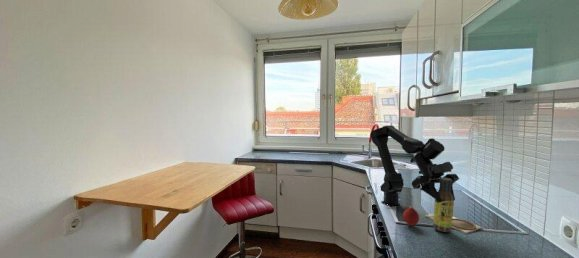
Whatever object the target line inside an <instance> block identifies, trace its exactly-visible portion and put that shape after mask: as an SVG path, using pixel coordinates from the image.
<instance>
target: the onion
mask: <svg viewBox="0 0 579 258" xmlns="http://www.w3.org/2000/svg"><path fill="white" fill-rule="evenodd" d="M402 218H403V221H404V222H405V223H406V224H407V225H408V226H409V227H413V226H415V225H416V224H418V223H419V221H420V215H419V213H418V211H417V210H416V209H414V207H412V206H408V208H407V209H405V210H404V211H403V213H402Z"/></svg>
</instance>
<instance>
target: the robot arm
mask: <svg viewBox="0 0 579 258" xmlns="http://www.w3.org/2000/svg"><path fill="white" fill-rule="evenodd" d="M369 136H370V139H371V141H372V144H374V145H375V146H376V147H377V150H378V153H379V158H380V161H381V163H382V167H383V171H384V177H383V183H382V184H381V185H380V191H381V192H383V200H381V201H380V202H381V203H382V202H383V203H382V204H384V203H385V204H384V205H386V204H388V205H390V206H389V207H395V206H394V205H396V206H399V205H401V203H399V198H400V197H399V193H402V191H403V188H404V181H405V180H404V178H403V176H402V173H401V172H398V171H396V168H395V165H394V162H393V158H392V155H391V152H390V149H389V147H388V141H389V137H390V138H392V139H393V140H394V141H396V142H397V143H398V144H400V145H401V149H403V151H404V152H405V154H408V155H412V156H411V158H410V163H411V164H412V163H415V164H416V166H417V168H418V174H419V175H418V176H416V177H415V178H414V179H413V180H412V181H411V186H412V188H413V189H414V190H420V191H423V192H424V193H425V194H427V195H428V196H430V197H432V199H434V200H435V199H436V200H437V201H438V202H441V201H442V200H441V198H440V196H439V194H438V190H437V189H436V187H435V186H436V185H435V184H440V178H441V177H445V178H450V179H452V184H451V193H452V195H453V197H454V201H455V200H456V197H455V192H454V188H453V185H454V183H456V182H457V181H458V180H460V177H459V176H458V175H457V173H452V170H453V169H454V166H453V164H452V163H451V162H450V161H445V162H443V163H439V164H438V163H433V161H432V160H435V159H436V158H437V157H438V156H440V155H441V154H442V153H444V151H445V149H446V148H445V146H444V145H443V143H441V142H440V141H438V140H436V139H435V138H429V139H428V140H427V141H426V142H425V143H424V142H423V141H422V140H419V139H417V138H412V137H409V136H408V135H407V134H405V133H404V132H402V131H400V130H399V129H397V128H396V127H395V126H394V125H384V126H382V127H378V128H376V129H372V130H371V131H370V135H369ZM413 155H414V156H413ZM445 173H446V174H445ZM388 205H387V206H388Z"/></svg>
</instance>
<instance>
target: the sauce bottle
mask: <svg viewBox="0 0 579 258" xmlns="http://www.w3.org/2000/svg"><path fill="white" fill-rule="evenodd" d="M451 184H452V179H450V178H445V177H444V176H441V178H440V183H439V187H438V190H437V192H438V194H439V196H440V198H441V200H442V201H441V202H438V201H437V200H436V199H434V204H433V214H434V217H433V220H432V222H433V224H432V227H433V228H434V229H435V230H436V231H440V232H444V233H449V232H452V228H451V227H452V219H453V217H454V205H455V204H454V203H455V200H454V197H455V196H454V197H453V195H452V193H451Z"/></svg>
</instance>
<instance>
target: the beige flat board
mask: <svg viewBox="0 0 579 258" xmlns="http://www.w3.org/2000/svg"><path fill="white" fill-rule="evenodd" d="M424 217H425V218H427V219H428V220H432V221H433V217H434V213H429V214H425V215H424ZM451 229H453V230H456V231H458V232H460V233H463V234H470V233H472V232H477V231H479V230H478V229H480V230H482V229H483V227H482V226H479V225H477V224H475V223H473V222H471V221H468V220H466V219H460V218H458V217H455V216H453V219H452V227H451ZM476 230H477V231H476ZM469 232H470V233H469Z"/></svg>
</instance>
